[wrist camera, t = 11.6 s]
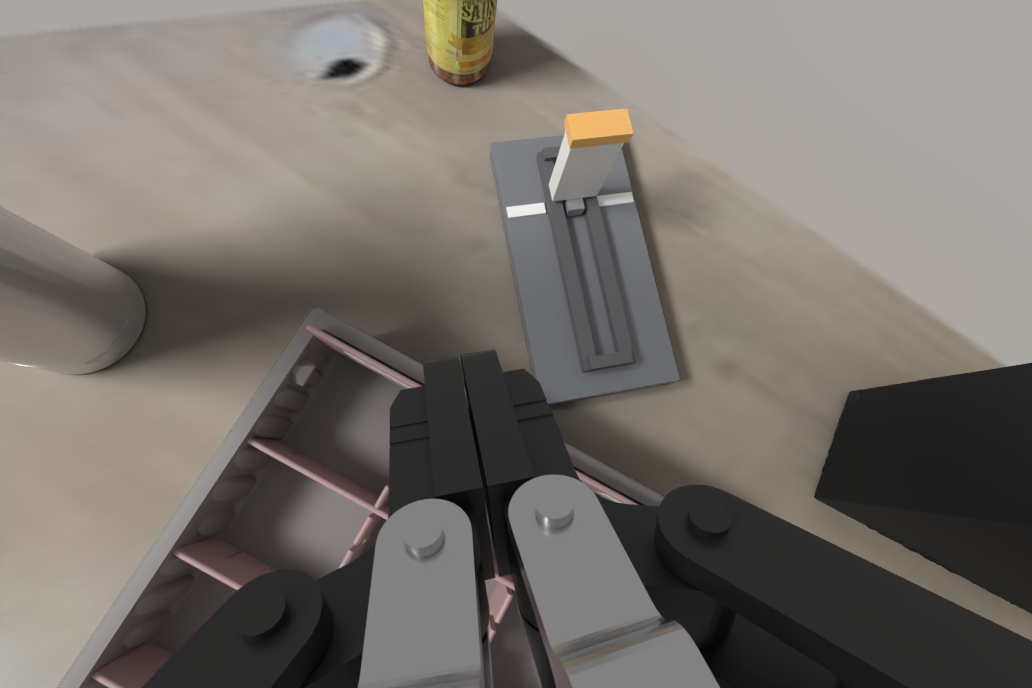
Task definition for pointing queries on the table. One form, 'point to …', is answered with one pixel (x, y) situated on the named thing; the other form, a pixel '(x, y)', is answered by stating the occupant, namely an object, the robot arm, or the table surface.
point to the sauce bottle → (459, 38)
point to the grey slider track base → (581, 279)
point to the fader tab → (587, 155)
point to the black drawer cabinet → (943, 473)
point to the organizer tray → (295, 507)
